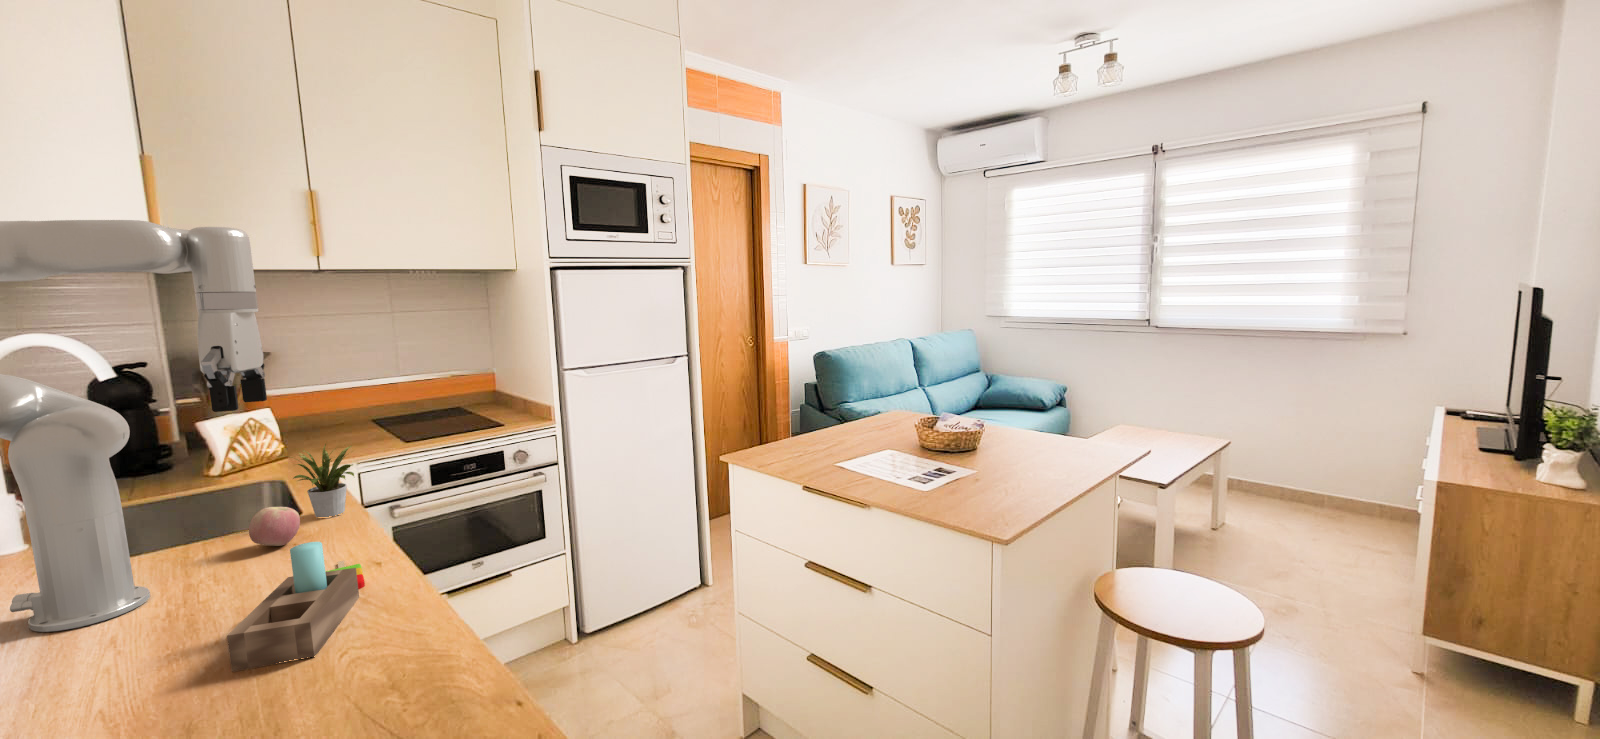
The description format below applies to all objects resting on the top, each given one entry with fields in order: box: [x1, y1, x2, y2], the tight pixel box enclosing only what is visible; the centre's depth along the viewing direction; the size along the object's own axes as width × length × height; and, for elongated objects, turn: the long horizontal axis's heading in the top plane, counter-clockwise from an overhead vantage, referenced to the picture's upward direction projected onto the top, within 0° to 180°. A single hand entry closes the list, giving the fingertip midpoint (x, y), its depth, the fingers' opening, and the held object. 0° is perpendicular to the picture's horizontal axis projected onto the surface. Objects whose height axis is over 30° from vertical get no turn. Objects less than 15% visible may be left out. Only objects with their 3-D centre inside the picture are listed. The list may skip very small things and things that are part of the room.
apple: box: [248, 506, 301, 547], centre depth 123 cm, size 8×8×8 cm
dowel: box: [289, 541, 327, 594], centre depth 95 cm, size 4×4×11 cm
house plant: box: [276, 443, 356, 517], centre depth 139 cm, size 14×14×16 cm
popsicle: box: [325, 560, 366, 591], centre depth 109 cm, size 6×15×2 cm, turn 38°
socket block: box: [226, 568, 360, 673], centre depth 91 cm, size 9×18×5 cm, turn 19°
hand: (241, 406), depth 106 cm, fingers open, 9 cm apart
